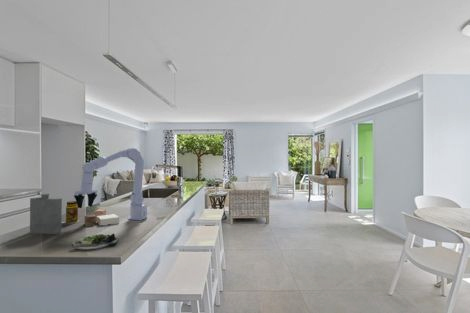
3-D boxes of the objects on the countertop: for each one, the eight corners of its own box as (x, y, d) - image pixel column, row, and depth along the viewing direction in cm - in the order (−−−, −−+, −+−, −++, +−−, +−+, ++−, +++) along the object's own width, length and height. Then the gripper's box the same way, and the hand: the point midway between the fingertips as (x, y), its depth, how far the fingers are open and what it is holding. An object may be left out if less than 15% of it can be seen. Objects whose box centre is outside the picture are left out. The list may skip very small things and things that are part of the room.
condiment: (73, 223, 163) (73, 202, 163) (59, 223, 164) (59, 202, 164) (81, 220, 170) (81, 200, 170) (68, 220, 171) (68, 200, 171)
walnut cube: (94, 223, 165) (94, 214, 165) (95, 224, 161) (96, 216, 161) (84, 224, 162) (84, 215, 162) (86, 226, 158) (86, 217, 158)
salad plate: (77, 256, 114) (77, 244, 114) (62, 246, 126) (62, 235, 126) (123, 245, 128) (123, 234, 128) (105, 236, 140) (105, 227, 140)
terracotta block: (105, 217, 180) (106, 209, 180) (103, 219, 175) (103, 210, 175) (97, 217, 180) (97, 209, 180) (94, 219, 175) (94, 211, 175)
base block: (114, 220, 173) (114, 214, 173) (119, 223, 165) (119, 217, 165) (96, 222, 167) (96, 216, 167) (100, 226, 159) (100, 219, 159)
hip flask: (62, 232, 146) (63, 193, 146) (57, 234, 142) (57, 194, 142) (33, 231, 147) (33, 192, 147) (27, 233, 143) (27, 193, 143)
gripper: (91, 182, 170) (88, 204, 170) (71, 183, 157) (68, 207, 156) (100, 183, 168) (98, 206, 168) (81, 184, 155) (79, 209, 154)
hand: (84, 207), depth 162 cm, fingers open, 7 cm apart
